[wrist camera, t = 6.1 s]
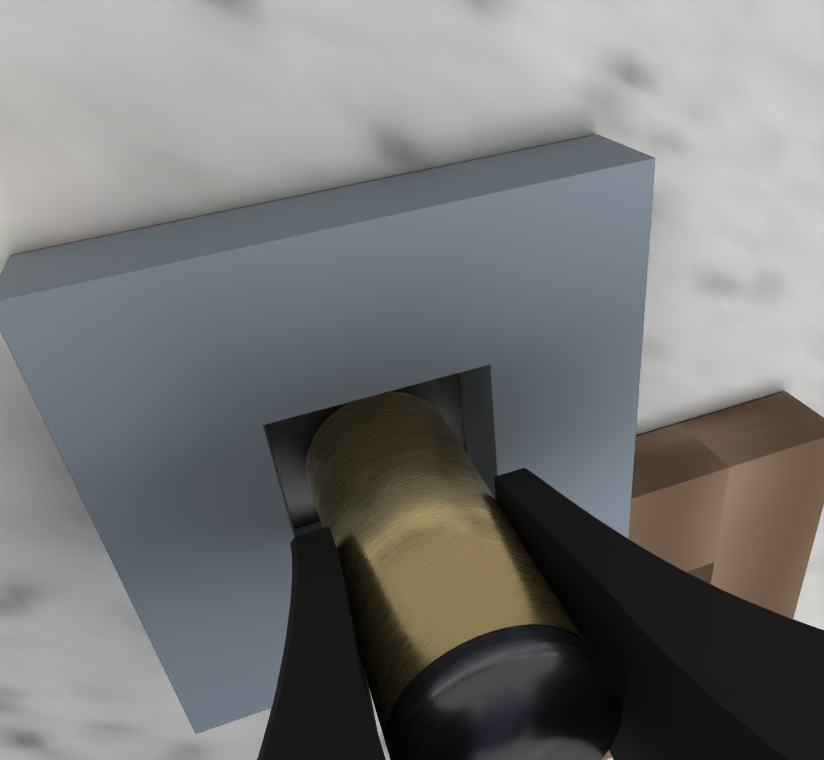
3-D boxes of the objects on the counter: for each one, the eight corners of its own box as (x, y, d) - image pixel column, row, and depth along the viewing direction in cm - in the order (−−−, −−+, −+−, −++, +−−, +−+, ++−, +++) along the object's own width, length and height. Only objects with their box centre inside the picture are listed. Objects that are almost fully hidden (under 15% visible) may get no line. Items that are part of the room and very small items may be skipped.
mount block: (444, 754, 23) (466, 814, 22) (405, 505, 17) (430, 562, 16) (733, 645, 26) (773, 693, 24) (785, 391, 20) (843, 430, 18)
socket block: (191, 662, 18) (195, 734, 16) (9, 255, 12) (-14, 302, 10) (586, 534, 20) (624, 585, 18) (596, 134, 14) (655, 158, 12)
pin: (327, 533, 16) (425, 859, 10) (287, 421, 14) (378, 738, 8) (460, 485, 16) (625, 770, 11) (437, 371, 15) (619, 638, 9)
